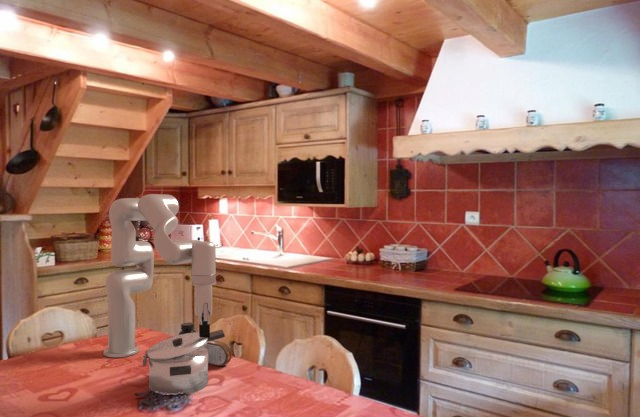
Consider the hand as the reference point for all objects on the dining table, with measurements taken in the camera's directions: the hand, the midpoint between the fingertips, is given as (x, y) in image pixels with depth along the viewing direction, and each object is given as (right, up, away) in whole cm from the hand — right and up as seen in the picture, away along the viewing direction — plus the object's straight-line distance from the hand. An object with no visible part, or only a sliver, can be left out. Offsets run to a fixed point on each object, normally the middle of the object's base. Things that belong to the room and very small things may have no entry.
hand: (204, 336), depth 150 cm
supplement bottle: (-13, -15, +26) cm, 33 cm away
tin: (-2, -15, +17) cm, 23 cm away
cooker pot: (-8, -15, -2) cm, 17 cm away
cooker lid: (-6, -3, -1) cm, 6 cm away
